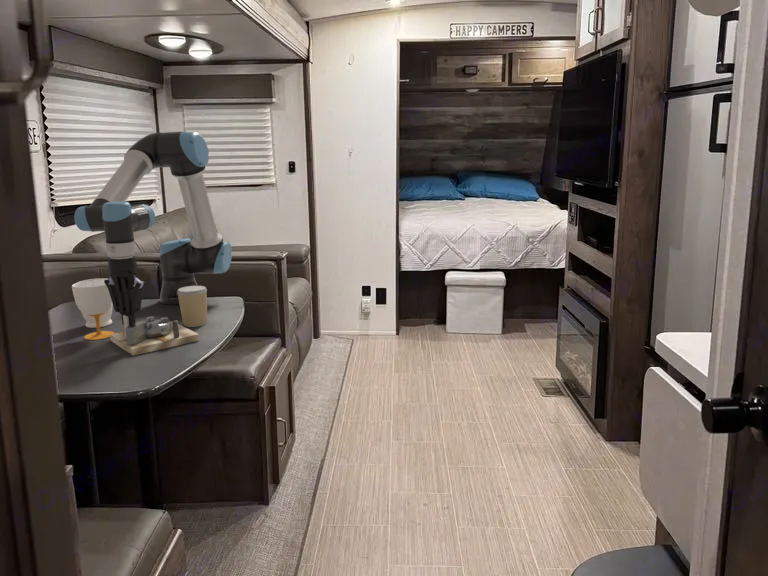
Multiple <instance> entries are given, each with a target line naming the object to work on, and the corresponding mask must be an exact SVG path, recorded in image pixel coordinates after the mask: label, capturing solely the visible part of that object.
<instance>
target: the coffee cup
mask: <svg viewBox="0 0 768 576" xmlns="http://www.w3.org/2000/svg"><path fill="white" fill-rule="evenodd" d="M207 291H208V289H207V287H206V286H205V285H204V286H203V285H198V286H187V287H182V288H180V289H178V291H177V294H178V298H179V304H178V305H179V308H180V309H179V310H180V315H181V320H182V324H183V325H182V326H183V327H185V328H195V327H201V326H204V325H207V323H208V299H207V298H208V297H207V296H208V295H207V294H208V293H207Z"/></svg>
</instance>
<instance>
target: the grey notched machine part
mask: <svg viewBox="0 0 768 576" xmlns="http://www.w3.org/2000/svg"><path fill="white" fill-rule="evenodd" d="M135 322H136V323H135V325H133V326H128V327H125V329H124V331H125V330H126V338H127V344H133V345H135V344H137V343H139V342H141V341H143V340H145V339H147V338H156V337H161V336H165V335H167V334H169V333H171V326H170V322H171V321H170V320H169V317H168V316H165V317H160V318H159V319H157V318H156V319H155V316H147V317H146V320H140V321H135Z"/></svg>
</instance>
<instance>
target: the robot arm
mask: <svg viewBox="0 0 768 576" xmlns="http://www.w3.org/2000/svg"><path fill="white" fill-rule="evenodd" d="M209 160H210V158H209V147H208V144H207V142H206V140H205V139H204V137H203V136H202V135H201V134H200V133H198V132H196V131H187V130H186V131H185V130H184V131H172V132H170V131H169V132H153V133H150V134H147V135H145V136H144V137H141V138H140V139H139V140H138V141H137V142H134V144H133V145H131V147H130V148H129V149H128V150H126V153H124V156H123V162H122V163H121V164H120V166H119V167H118V168H117V170H116V171H115V172H114V174H113V175H112V176H111V177H110V179H109V180H108V181H107V183H106V184H105V186H104V187H103V188H102V189H101V190H100V192H99V193H98V195H97V196H96V197H95V199H94V200H93V201H92V202H91V204H90V205H84V206H83V205H82V206H80V207H77V208H76V210H75V212H74V216H73V217H74V218H73V219H74V223H75V225H76V227H77V228H78V229H79V230H80V231H83V232H92V233H93V232H104V235H105V246H106V255H107V257H108V259H107V266H108V271H109V272H110V275H109V278H106V279H107V280H105V281H104V283H105V284H106V286H107V288H108V291H109V294H110V297H111V300H112V303H113V306H112V307H113V309H114V312H115V313H119V314H120V315H121V324H122V325H123V327H124V329H123V330H124V331H125V337H126V330H125V327H128V326H133V325H135V323H136V322H137V321H136V314H137V313H139V312H141V307H142V300H143V290H144V288H145V285H146V282H145V281H144V280H141V279H139V278H138V275H137V272H136V271H137V269H138V265H137V264H138V263H137V257H136V256H135V255H136V253H137V252H136V246H135V238H134V233H136V232H139V231H145V230H147V229H149V228H151V227H152V226H153V225H154V224H155V221H156V214H155V211H154V209H153V208H152V207H151V206H149V205H148V204H145V203H140V204H138V203H137V204H134V205H133V204H132V205H131V203H130V202H129V201H127V200H128V199H129V198H130V196H131V195H132V193H133V192H134V190H135V189H136V187H137V186H138V184H139V183H140V181H142V179H143V178H144V177H145V176H146V175H149V174H150V173H151V172H152V170H154V169H157V168H158V169H159V168H169V170H170V174H171V175H172V176H173V177H175V178H176V179H177V181H178V186H179V188H180V189H179V190H180V193H181V196H182V197H181V198H182V200H183V205H184V209H185V211H186V215H187V218H188V222H189V226H190V230H191V233H192V237H193V238H192V239H191V238H190V237H189V238H179V239H178V238H177V239H175V240H169V241H166V242H163V243H161V244H159V259H160V260H159V261H160V268H161V277H162V285H161V290H160V294H159V301H160V304H162V305H180V304H179V298H178V294H177V291H178V289H180V288H182V287H187V286H199V285H198V283H197V281H196V279H195V274H214V275H216V274H224V273H226V272H227V271H228V270H229V268H230V266H231V262H232V257H233V256H232V255H233V253H232V251H233V250H232V245H231V244H230V242H227V241H224V239H223V235H222V234H221V233H219V232H218V231H217V227H216V223H215V219H214V215H213V212H212V207H211V203H210V199H209V195H208V191H207V186H206V182H205V179H204V174H203V173H204V172H205V171H206V166H208V165H207V164H208V163H209Z"/></svg>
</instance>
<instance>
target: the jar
mask: <svg viewBox="0 0 768 576" xmlns="http://www.w3.org/2000/svg"><path fill="white" fill-rule="evenodd" d="M100 279H103V280H107V279H108V278H103V277H102V278H101V277H100V278H99V277H98V278H90V279H84V280H80V281H78V282H83V281H89V280H100ZM78 282H76V283H78ZM113 307H114V306H113V304H112V306H111V308H110V309H109V310H108V311H107V312H106V313H104V314H102V315H100V316H99V323H100V328H103V327H107V326H110V325H112V324H113V320H112V319H111V318H112V315H113ZM81 315H82V317H83V319H84V320H85V321H86V322H85V327H86V328H90V329H97V327H96V320H95V317H94V316H89V315H86V314H83V313H82V312H81Z"/></svg>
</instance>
